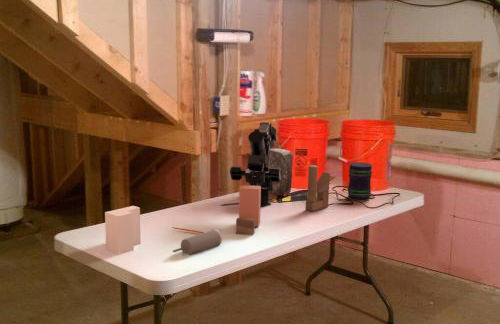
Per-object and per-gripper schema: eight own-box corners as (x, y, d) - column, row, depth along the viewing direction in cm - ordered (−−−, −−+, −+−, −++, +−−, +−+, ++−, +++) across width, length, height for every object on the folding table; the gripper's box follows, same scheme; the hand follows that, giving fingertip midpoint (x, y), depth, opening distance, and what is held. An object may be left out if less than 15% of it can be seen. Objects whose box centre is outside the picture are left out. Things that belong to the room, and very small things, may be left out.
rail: (245, 217, 204) (245, 205, 203) (260, 218, 203) (261, 205, 202) (236, 233, 185) (236, 219, 184) (253, 234, 184) (253, 220, 183)
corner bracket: (119, 254, 163) (118, 216, 161) (97, 246, 170) (96, 209, 168) (147, 246, 171) (146, 209, 169) (125, 238, 178) (124, 203, 176)
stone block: (263, 192, 245) (263, 148, 242) (274, 190, 250) (275, 147, 246) (283, 197, 235) (284, 152, 232) (294, 195, 240) (295, 151, 236)
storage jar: (347, 200, 233) (349, 166, 231) (347, 194, 243) (348, 162, 240) (371, 201, 232) (373, 167, 229) (369, 195, 241) (371, 162, 239)
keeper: (241, 221, 198) (241, 185, 196) (260, 222, 197) (260, 186, 195) (238, 225, 193) (239, 188, 191) (258, 226, 192) (259, 189, 190)
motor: (231, 242, 176) (229, 227, 175) (180, 260, 159) (178, 243, 159) (183, 238, 191) (181, 224, 191) (132, 253, 175) (130, 238, 174)
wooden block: (328, 207, 221) (330, 164, 218) (312, 212, 214) (313, 167, 210) (321, 205, 224) (323, 162, 220) (305, 210, 216) (306, 166, 213)
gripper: (230, 145, 203) (225, 180, 194) (280, 147, 200) (276, 182, 192) (234, 162, 212) (229, 196, 203) (281, 164, 209) (278, 198, 201)
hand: (252, 193), depth 200 cm, fingers closed
